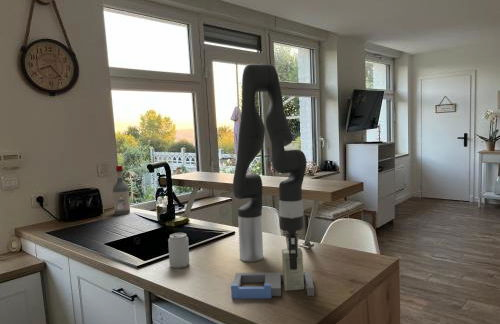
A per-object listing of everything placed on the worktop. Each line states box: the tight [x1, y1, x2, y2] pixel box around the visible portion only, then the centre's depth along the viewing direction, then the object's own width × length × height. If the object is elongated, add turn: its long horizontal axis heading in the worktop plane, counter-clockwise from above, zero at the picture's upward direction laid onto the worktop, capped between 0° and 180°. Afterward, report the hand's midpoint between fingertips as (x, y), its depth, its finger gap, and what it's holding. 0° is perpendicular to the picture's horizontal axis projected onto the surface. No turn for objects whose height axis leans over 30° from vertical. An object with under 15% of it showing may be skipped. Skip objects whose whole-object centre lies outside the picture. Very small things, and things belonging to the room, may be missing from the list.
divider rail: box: [230, 271, 315, 300], centre depth 118 cm, size 14×25×4 cm, turn 86°
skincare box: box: [281, 247, 305, 291], centre depth 118 cm, size 6×4×12 cm
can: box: [167, 232, 190, 269], centre depth 141 cm, size 8×8×12 cm
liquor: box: [112, 165, 131, 216], centre depth 232 cm, size 9×9×30 cm
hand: (292, 264), depth 118 cm, fingers open, 8 cm apart
